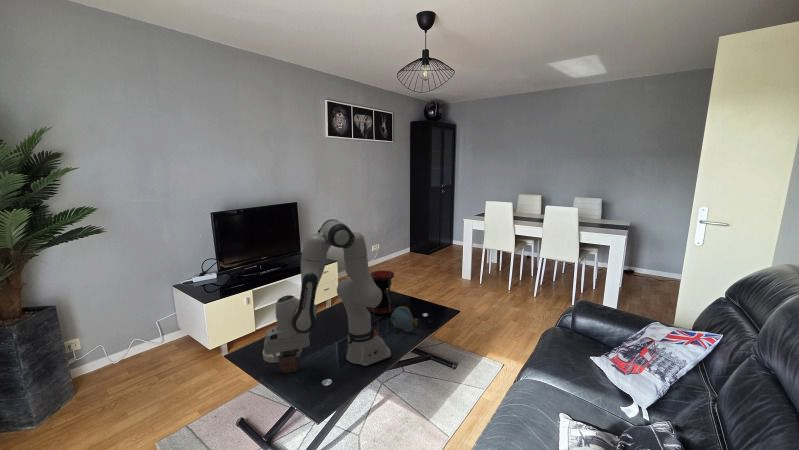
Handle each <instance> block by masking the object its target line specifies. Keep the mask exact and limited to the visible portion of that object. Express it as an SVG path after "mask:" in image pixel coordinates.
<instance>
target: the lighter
mask: <svg viewBox="0 0 799 450" xmlns="http://www.w3.org/2000/svg"><path fill="white" fill-rule="evenodd" d="M294 350H295V349H294ZM294 350H289V351H284V352H280V354H282V355H279V362H278V364H279V370H278V371H279V373H294V372H296V371H298V364H297V352H296V353H295V351H294Z"/></svg>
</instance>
